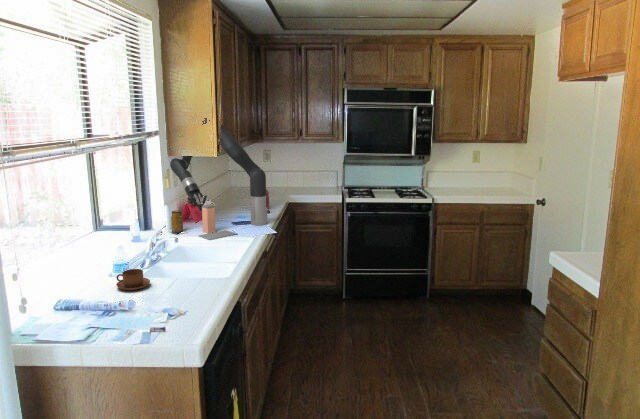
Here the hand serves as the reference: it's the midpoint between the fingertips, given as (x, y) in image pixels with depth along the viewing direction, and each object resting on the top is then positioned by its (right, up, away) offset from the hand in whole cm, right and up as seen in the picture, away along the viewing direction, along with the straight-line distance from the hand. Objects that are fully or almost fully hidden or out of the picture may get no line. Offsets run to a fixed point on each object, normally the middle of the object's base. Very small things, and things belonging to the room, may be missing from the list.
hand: (203, 210), depth 272 cm
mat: (+10, -14, -9) cm, 19 cm away
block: (+4, -12, -1) cm, 13 cm away
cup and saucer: (-5, -29, -87) cm, 92 cm away
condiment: (-13, -12, -3) cm, 18 cm away
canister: (+24, +1, +66) cm, 71 cm away
